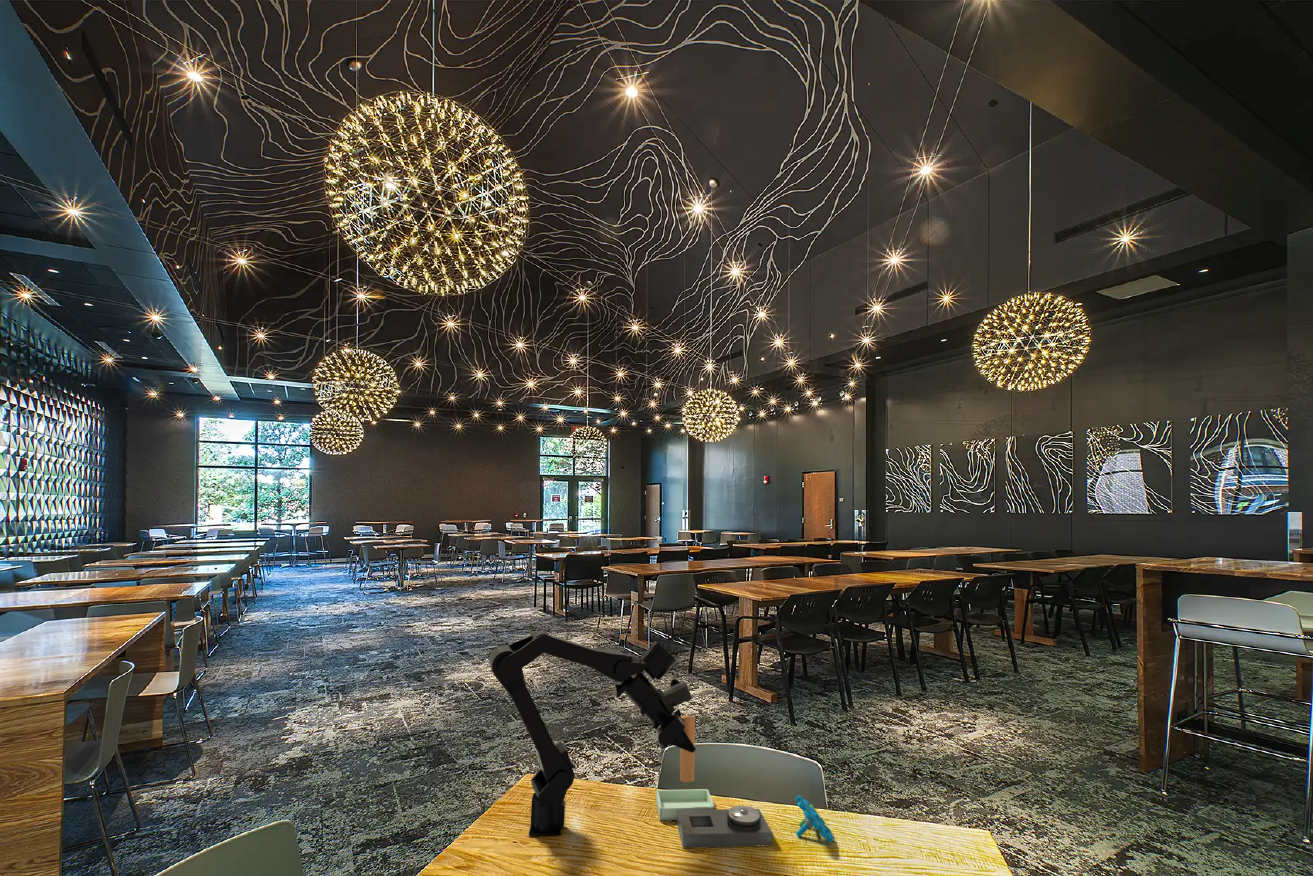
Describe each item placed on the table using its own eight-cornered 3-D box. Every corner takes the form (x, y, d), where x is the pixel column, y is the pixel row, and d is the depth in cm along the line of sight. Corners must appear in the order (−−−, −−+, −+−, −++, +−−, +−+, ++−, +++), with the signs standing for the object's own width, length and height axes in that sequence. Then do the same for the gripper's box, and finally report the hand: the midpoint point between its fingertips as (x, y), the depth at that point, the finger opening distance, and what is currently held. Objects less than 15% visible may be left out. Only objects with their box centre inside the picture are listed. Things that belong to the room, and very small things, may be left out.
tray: (659, 821, 128) (660, 808, 128) (656, 801, 137) (656, 790, 137) (714, 819, 129) (714, 807, 129) (707, 800, 138) (707, 789, 138)
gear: (838, 845, 117) (800, 800, 120) (816, 866, 116) (779, 821, 120) (834, 826, 127) (799, 785, 130) (814, 846, 127) (780, 804, 130)
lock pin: (680, 782, 131) (681, 720, 133) (679, 776, 134) (679, 715, 136) (695, 782, 131) (695, 720, 133) (693, 776, 134) (693, 715, 136)
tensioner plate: (682, 848, 117) (683, 822, 118) (676, 823, 127) (676, 799, 128) (771, 845, 119) (771, 820, 120) (759, 821, 129) (758, 798, 129)
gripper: (675, 680, 127) (726, 735, 126) (667, 660, 145) (711, 708, 144) (637, 720, 125) (688, 775, 124) (634, 694, 143) (679, 743, 142)
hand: (693, 747), depth 134 cm, fingers closed on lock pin, 3 cm apart
